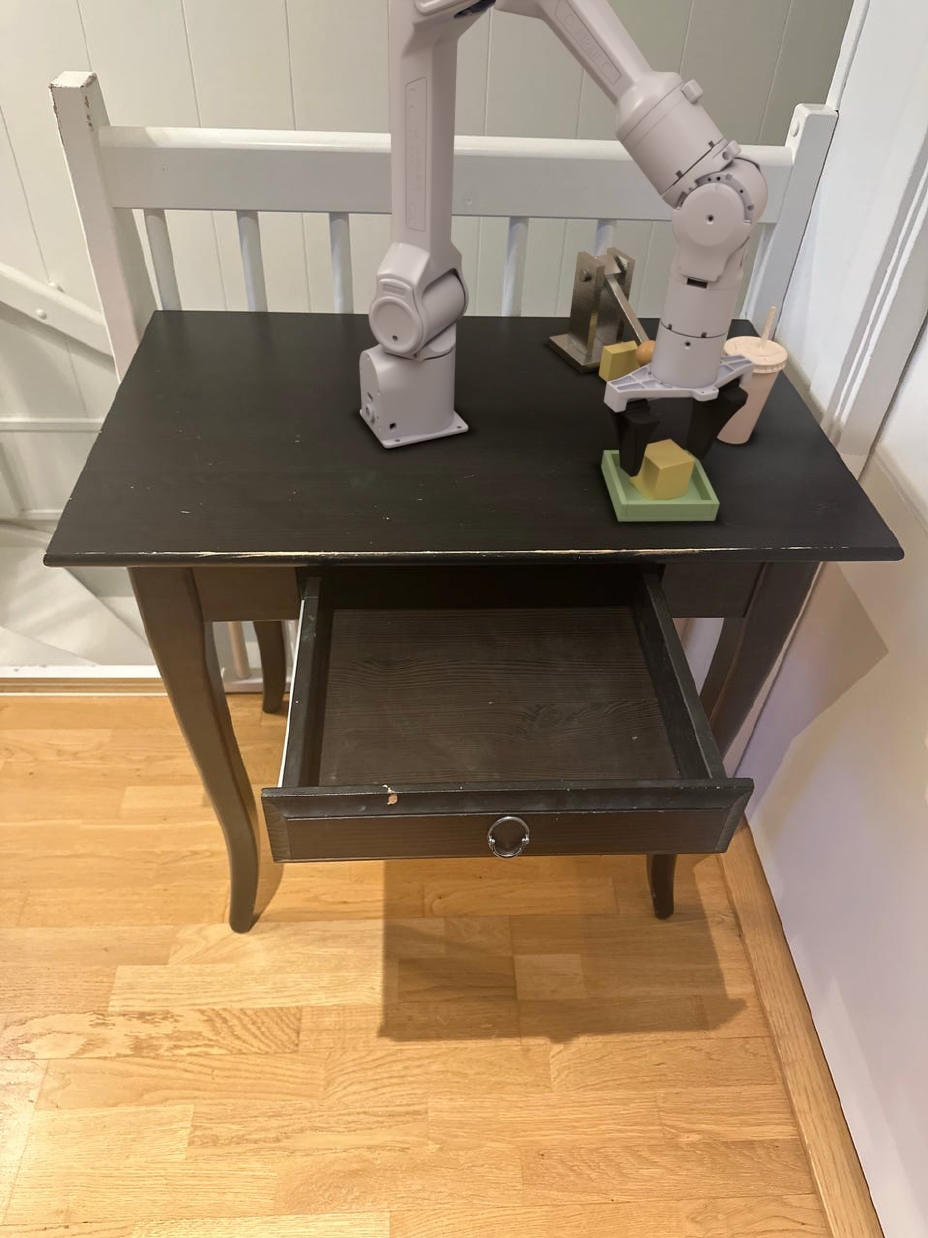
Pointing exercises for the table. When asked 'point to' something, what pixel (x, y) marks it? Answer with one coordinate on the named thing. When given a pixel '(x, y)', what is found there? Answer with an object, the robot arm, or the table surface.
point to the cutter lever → (626, 310)
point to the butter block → (618, 361)
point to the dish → (636, 507)
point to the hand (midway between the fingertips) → (662, 462)
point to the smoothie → (754, 379)
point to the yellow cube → (664, 471)
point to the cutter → (593, 313)
